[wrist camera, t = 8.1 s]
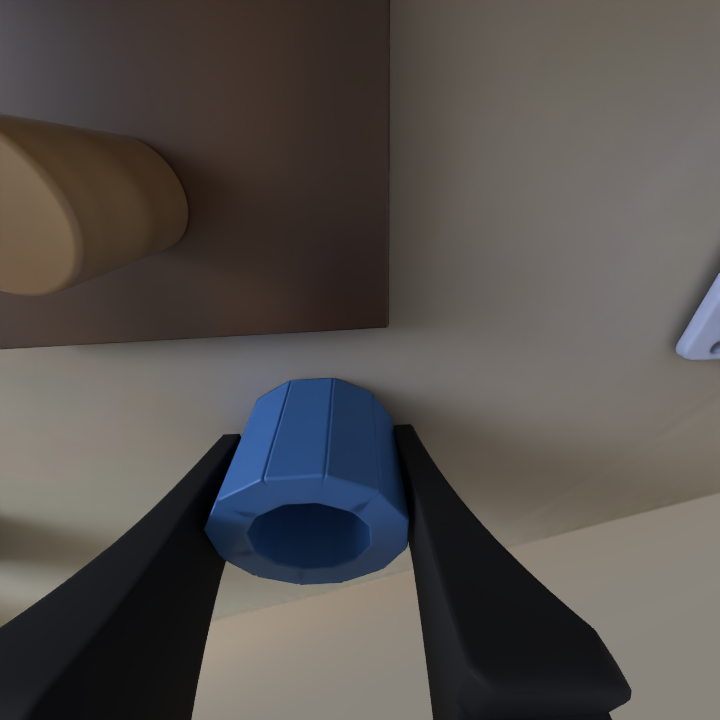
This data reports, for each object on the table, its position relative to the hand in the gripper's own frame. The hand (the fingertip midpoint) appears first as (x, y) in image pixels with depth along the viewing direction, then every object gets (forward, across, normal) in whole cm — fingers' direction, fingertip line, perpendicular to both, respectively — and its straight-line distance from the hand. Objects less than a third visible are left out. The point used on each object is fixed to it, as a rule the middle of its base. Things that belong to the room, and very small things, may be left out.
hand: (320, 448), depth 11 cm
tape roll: (+1, 0, 0) cm, 1 cm away
